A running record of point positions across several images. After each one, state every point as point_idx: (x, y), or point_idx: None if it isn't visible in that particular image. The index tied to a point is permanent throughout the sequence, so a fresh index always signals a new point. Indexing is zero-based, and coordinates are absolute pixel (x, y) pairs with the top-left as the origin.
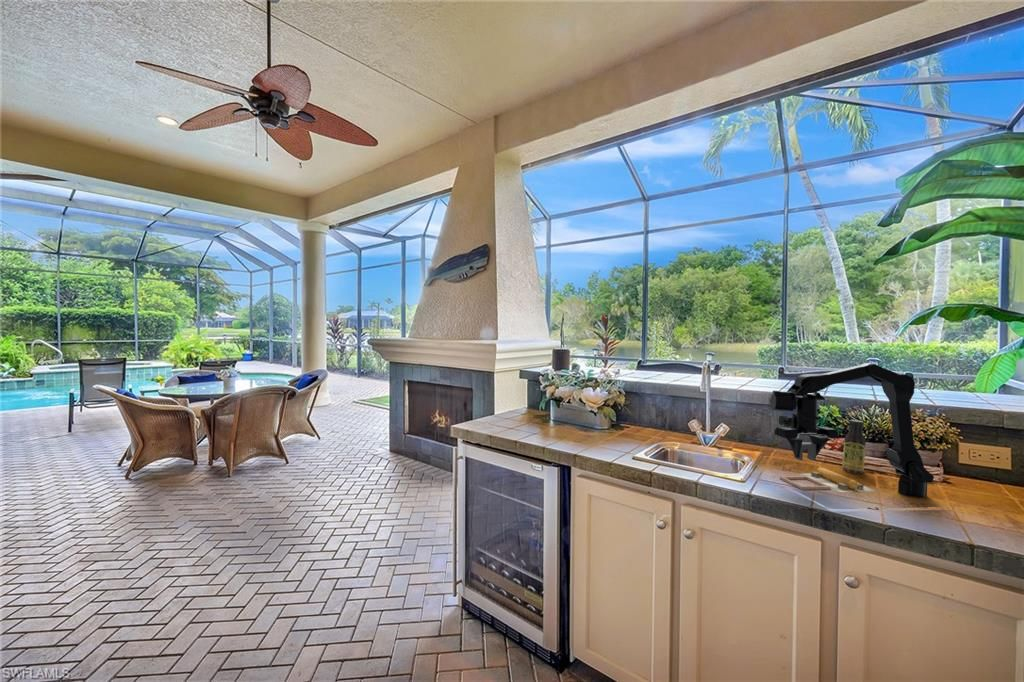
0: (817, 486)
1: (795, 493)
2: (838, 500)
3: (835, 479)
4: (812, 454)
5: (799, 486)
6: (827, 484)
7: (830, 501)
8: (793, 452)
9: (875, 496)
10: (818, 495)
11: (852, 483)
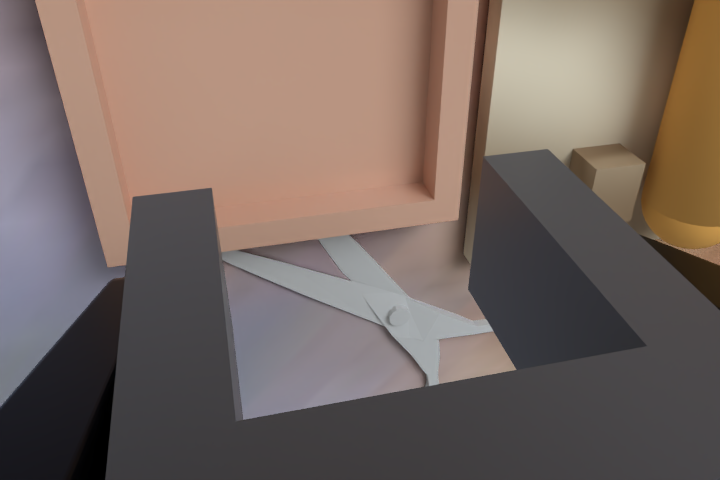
0: (316, 227)
1: (9, 278)
2: (335, 367)
3: (691, 54)
4: (518, 348)
5: (99, 230)
6: (543, 72)
7: (248, 395)
8: (52, 351)
9: (711, 254)
10: (236, 295)
11: (673, 243)
